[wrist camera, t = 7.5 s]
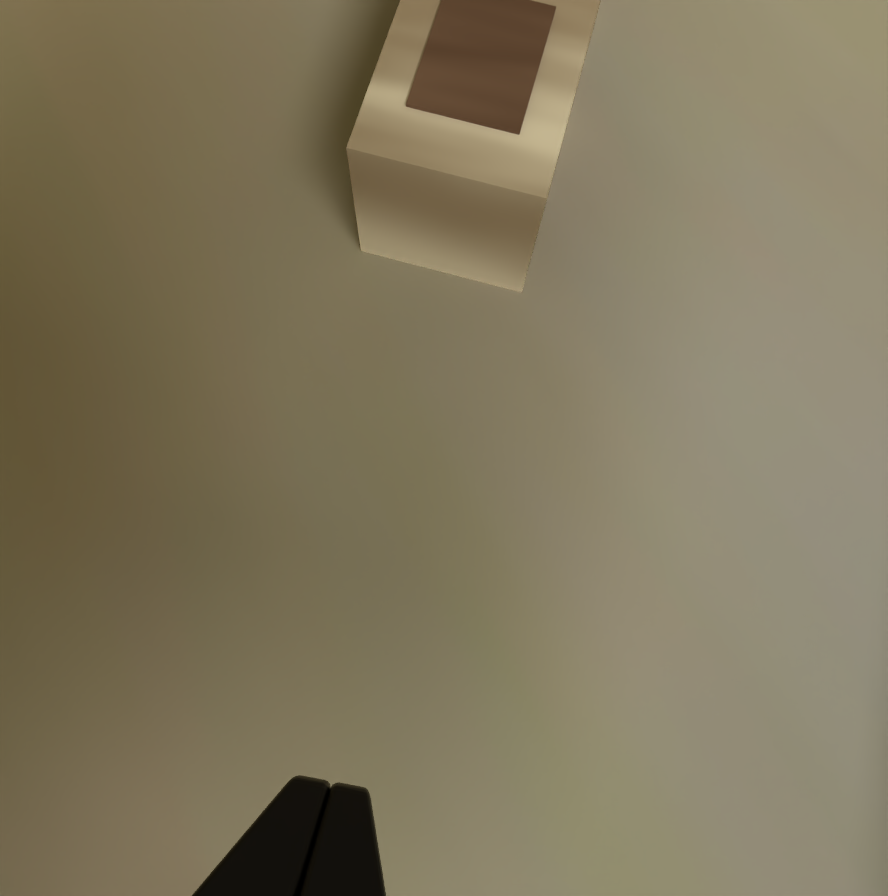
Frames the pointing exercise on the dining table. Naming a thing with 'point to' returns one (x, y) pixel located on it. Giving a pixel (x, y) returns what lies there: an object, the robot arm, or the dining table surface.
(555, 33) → the cream two-panel pillar
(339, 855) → the robot arm
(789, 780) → the dining table surface
